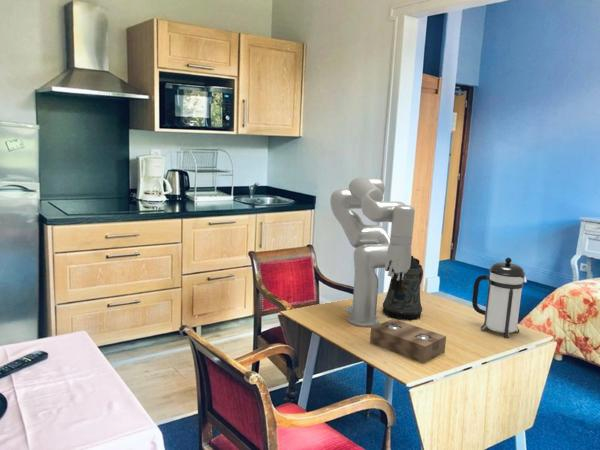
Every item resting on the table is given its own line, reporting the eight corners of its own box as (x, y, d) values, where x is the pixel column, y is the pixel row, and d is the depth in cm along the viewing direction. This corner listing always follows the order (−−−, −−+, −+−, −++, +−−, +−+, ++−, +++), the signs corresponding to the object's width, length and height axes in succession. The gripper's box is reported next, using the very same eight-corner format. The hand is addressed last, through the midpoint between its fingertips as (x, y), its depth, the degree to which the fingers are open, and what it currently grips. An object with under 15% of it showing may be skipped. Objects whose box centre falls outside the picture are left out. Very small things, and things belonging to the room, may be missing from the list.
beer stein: (379, 317, 212) (384, 258, 208) (385, 303, 230) (390, 249, 226) (420, 323, 208) (425, 263, 203) (423, 308, 226) (428, 253, 222)
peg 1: (384, 340, 186) (386, 326, 185) (391, 338, 189) (392, 323, 188) (394, 344, 183) (395, 329, 182) (400, 341, 186) (401, 327, 185)
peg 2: (413, 351, 178) (414, 336, 177) (419, 348, 181) (421, 333, 180) (423, 355, 175) (425, 339, 174) (429, 352, 178) (431, 337, 177)
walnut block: (369, 343, 184) (371, 327, 183) (391, 333, 194) (393, 318, 193) (423, 363, 169) (425, 346, 168) (444, 352, 179) (446, 336, 178)
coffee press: (512, 325, 210) (521, 254, 205) (525, 340, 194) (535, 263, 189) (469, 321, 212) (477, 251, 207) (478, 336, 196) (487, 260, 191)
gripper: (403, 235, 188) (399, 284, 191) (379, 240, 177) (375, 291, 180) (421, 239, 182) (416, 289, 186) (398, 244, 172) (393, 297, 175)
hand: (396, 290), depth 183 cm, fingers closed
